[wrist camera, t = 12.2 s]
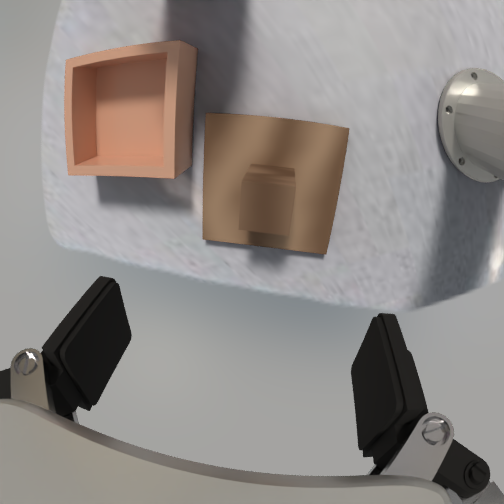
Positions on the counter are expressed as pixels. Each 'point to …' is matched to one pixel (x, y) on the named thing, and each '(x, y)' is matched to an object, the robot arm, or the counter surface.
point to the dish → (131, 110)
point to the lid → (271, 181)
